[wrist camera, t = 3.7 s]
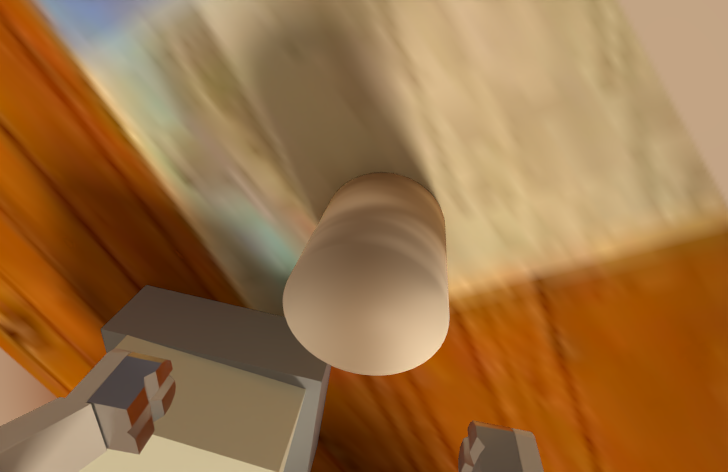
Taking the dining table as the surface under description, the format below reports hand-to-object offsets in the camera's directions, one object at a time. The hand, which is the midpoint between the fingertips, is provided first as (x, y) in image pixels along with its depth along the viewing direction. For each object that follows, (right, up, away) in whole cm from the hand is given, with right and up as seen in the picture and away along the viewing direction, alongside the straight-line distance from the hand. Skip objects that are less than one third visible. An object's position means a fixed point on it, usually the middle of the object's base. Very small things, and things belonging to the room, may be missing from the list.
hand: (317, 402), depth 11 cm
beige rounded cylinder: (+2, +5, +8) cm, 9 cm away
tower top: (-7, -5, +11) cm, 14 cm away
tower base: (-6, -4, +15) cm, 16 cm away
